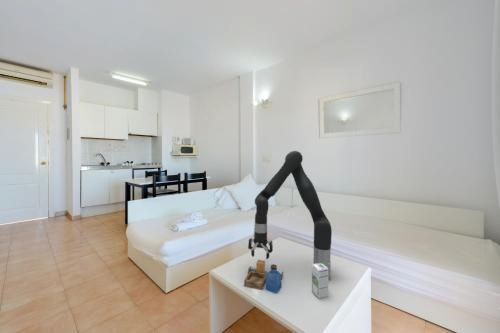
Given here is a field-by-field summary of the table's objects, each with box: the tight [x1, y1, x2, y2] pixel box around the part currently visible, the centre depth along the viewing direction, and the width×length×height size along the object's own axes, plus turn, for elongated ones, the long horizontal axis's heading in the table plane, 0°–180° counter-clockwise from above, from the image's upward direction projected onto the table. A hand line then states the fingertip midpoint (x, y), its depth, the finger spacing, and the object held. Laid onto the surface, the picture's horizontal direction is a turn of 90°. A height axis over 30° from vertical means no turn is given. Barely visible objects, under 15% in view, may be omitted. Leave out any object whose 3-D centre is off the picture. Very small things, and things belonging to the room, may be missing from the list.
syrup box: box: [311, 263, 329, 299], centre depth 104 cm, size 6×6×14 cm
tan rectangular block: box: [251, 259, 266, 273], centre depth 122 cm, size 8×4×6 cm, turn 72°
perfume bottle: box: [264, 263, 283, 294], centre depth 108 cm, size 6×6×12 cm
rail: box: [247, 265, 284, 281], centre depth 121 cm, size 20×4×2 cm, turn 72°
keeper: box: [243, 271, 267, 291], centre depth 113 cm, size 10×10×3 cm
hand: (260, 257), depth 122 cm, fingers open, 8 cm apart
